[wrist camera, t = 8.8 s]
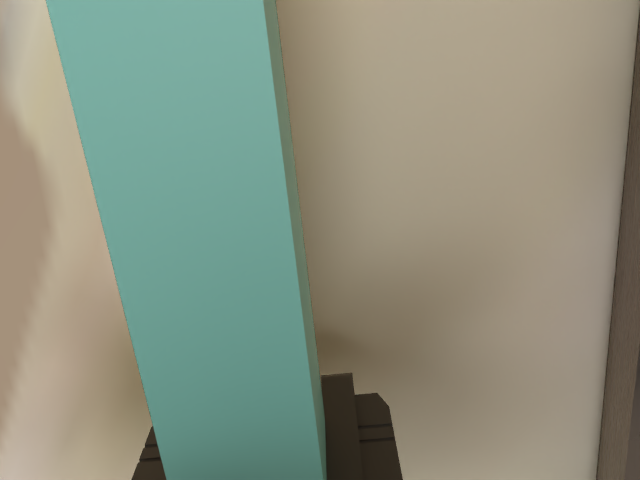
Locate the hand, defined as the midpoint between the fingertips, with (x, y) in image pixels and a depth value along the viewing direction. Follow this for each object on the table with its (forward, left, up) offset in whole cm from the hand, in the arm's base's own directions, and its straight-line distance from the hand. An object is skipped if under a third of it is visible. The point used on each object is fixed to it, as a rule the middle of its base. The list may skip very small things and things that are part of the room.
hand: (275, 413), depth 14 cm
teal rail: (0, 0, +2) cm, 2 cm away
